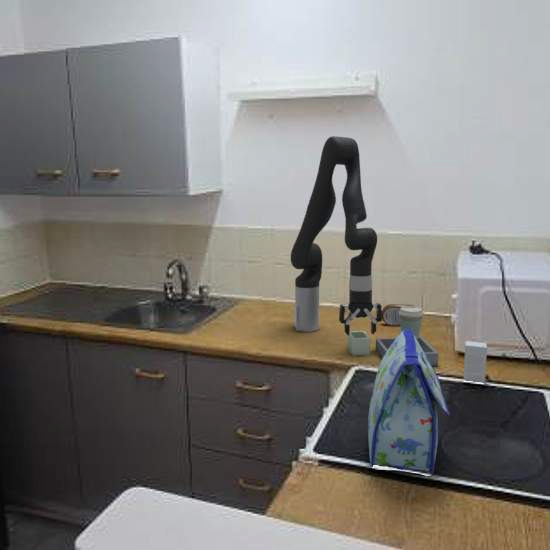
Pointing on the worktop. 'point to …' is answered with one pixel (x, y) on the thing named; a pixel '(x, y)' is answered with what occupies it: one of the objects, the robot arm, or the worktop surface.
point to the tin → (392, 314)
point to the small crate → (358, 343)
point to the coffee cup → (411, 319)
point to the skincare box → (475, 361)
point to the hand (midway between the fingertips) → (360, 334)
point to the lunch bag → (405, 408)
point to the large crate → (429, 351)
